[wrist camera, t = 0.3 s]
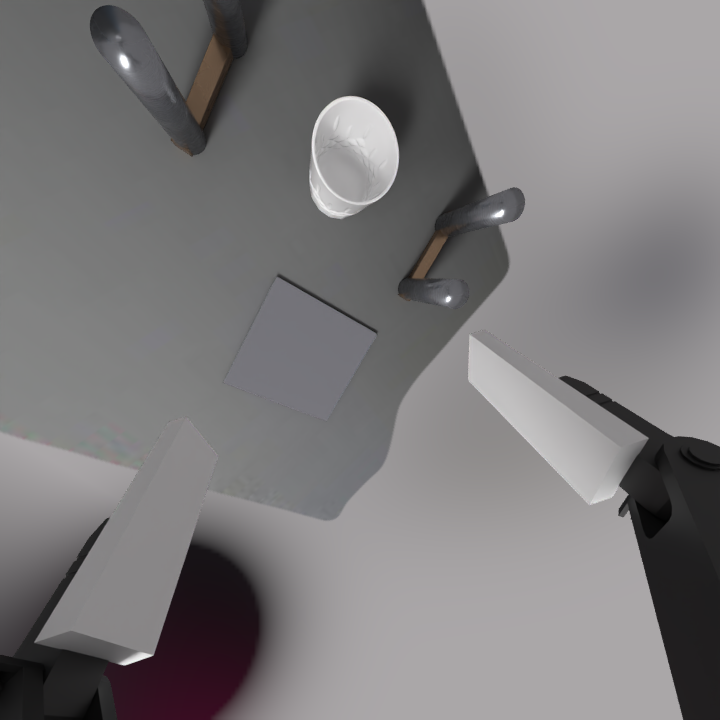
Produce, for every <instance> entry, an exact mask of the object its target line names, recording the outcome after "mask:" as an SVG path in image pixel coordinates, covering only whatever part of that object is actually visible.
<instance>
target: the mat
mask: <svg viewBox="0 0 720 720" xmlns="http://www.w3.org/2000/svg"><path fill="white" fill-rule="evenodd" d="M376 336H377V333H375V332H373V331H371V330H370V329H368V328H366V327H364V326H363V325H361V324H359V323H357V322H356V321H354V320H352V319H350V318H349V317H347V316H345V315H343V314H342V313H340V312H338V311H336V310H335V309H333V308H331V307H329V306H328V305H326V304H324V303H322V302H321V301H319V300H317V299H315V298H314V297H312V296H310V295H308V294H307V293H305V292H303V291H301V290H300V289H298V288H296V287H295V286H293V285H291V284H289V283H288V282H286V281H284V280H282V279H281V278H279V277H277V276H276V278H275V280H274V282H273V284H272V286H271V288H270V290H269V292H268V294H267V296H266V298H265V300H264V302H263V304H262V306H261V308H260V310H259V312H258V314H257V316H256V318H255V320H254V322H253V324H252V326H251V328H250V330H249V332H248V334H247V336H246V338H245V340H244V342H243V344H242V346H241V348H240V350H239V352H238V354H237V356H236V358H235V360H234V362H233V364H232V366H231V368H230V370H229V372H228V374H227V376H226V378H225V380H224V382H223V383H225V384H228V385H231V386H233V387H236V388H238V389H241V390H244V391H246V392H249V393H252V394H254V395H257V396H260V397H262V398H265V399H268V400H270V401H273V402H276V403H278V404H281V405H284V406H286V407H289V408H292V409H294V410H297V411H300V412H302V413H305V414H308V415H310V416H313V417H316V418H318V419H321V420H324V421H327V420H328V418H329V416H330V414H331V413H332V411H333V409H334V408H335V406H336V404H337V403H338V401H339V399H340V397H341V396H342V394H343V392H344V391H345V389H346V387H347V385H348V384H349V382H350V380H351V379H352V377H353V375H354V373H355V372H356V370H357V368H358V367H359V365H360V363H361V362H362V360H363V358H364V356H365V355H366V353H367V351H368V350H369V348H370V346H371V344H372V343H373V341H374V339H375V338H376Z"/></svg>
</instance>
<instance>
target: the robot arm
mask: <svg viewBox="0 0 720 720" xmlns="http://www.w3.org/2000/svg"><path fill="white" fill-rule="evenodd" d="M468 369H469V370H468V381H469V382H470V383H471V384H472V385H473V386H474V387H475V388H476V389H477V390H478V391H479V392H480V393H481V394H482V395H483V396H484V397H485V398H486V399H487V400H488V401H489V402H490V403H491V404H492V405H493V406H494V407H495V408H496V409H497V410H498V411H499V413H500V414H501V415H503V416H504V418H505V419H506V420H507V421H508V422H509V423H510V424H512V426H513V427H514V428H515V429H516V430H517V431H518V432H519V433H520V434H521V435H522V436H523V437H524V438H525V439H526V440H527V441H528V442H529V443H530V444H531V445H532V446H533V447H534V449H535V450H536V451H538V453H539V454H540V455H541V456H542V457H543V458H544V459H545V460H546V461H547V462H548V463H549V464H550V465H551V466H552V467H553V468H554V469H555V470H556V471H557V472H558V473H559V474H560V475H561V476H562V477H563V478H564V479H565V480H566V481H567V482H568V484H570V486H571V487H572V488H573V489H574V490H575V491H576V492H577V493H578V494H579V495H580V496H581V497H582V498H583V499H584V500H585V501H586V502H587V503H588V504H589V505H591V504H594V503H597V502H600V501H603V500H605V499H609V498H611V497H613V495H614V493H615V492H616V490H617V489H618V487H619V486H620V487H621V488H622V489H623V490H625V491H626V492H627V493H628V494H629V495H628V496H627V498H626V499H625V501H624V502H623V504H622V505H621V507H620V508H619V516H621V517H624V516H625V514H626V513H627V512H628V510H629V511H630V515H631V520H632V523H633V526H634V530H635V534H636V538H637V542H638V546H639V550H640V554H641V558H642V562H643V565H644V569H645V573H646V577H647V581H648V584H649V589H650V593H651V596H652V600H653V604H654V608H655V612H656V616H657V620H658V623H659V627H660V631H661V635H662V639H663V643H664V647H665V650H666V654H667V658H668V662H669V666H670V670H671V674H672V677H673V682H674V685H675V689H676V693H677V697H678V701H679V704H680V709H681V713H682V717H683V720H720V447H719V446H717V445H714V444H712V443H710V442H708V441H704V440H700V439H696V438H692V437H679V436H678V437H673V436H671V435H669V434H667V433H665V432H664V431H662V430H660V429H659V428H657V427H656V426H654V425H652V424H651V423H649V422H648V421H646V420H644V419H643V418H641V417H639V416H638V415H636V414H635V413H633V412H631V411H630V410H628V409H626V408H625V407H623V406H621V405H620V404H618V403H617V402H613V401H612V399H610V398H609V397H607V396H605V395H604V394H600V393H599V391H597V390H596V389H594V388H592V387H591V386H589V385H588V384H586V383H584V382H582V381H579V380H576V379H574V378H571V377H568V376H563V377H560V378H557V377H556V376H554V375H553V374H551V373H550V372H548V371H547V370H545V369H544V368H542V367H541V366H539V365H538V364H536V363H535V362H533V361H532V360H530V359H528V358H527V357H525V356H524V355H522V354H521V353H519V352H518V351H516V350H515V349H513V348H512V347H510V346H509V345H507V344H506V343H504V342H503V341H501V340H500V339H498V338H497V337H495V336H494V335H492V334H491V333H489V332H488V331H486V330H482V331H478V332H475V333H471V334H470V335H469V367H468ZM217 459H218V455H217V453H216V452H215V451H214V450H213V449H212V447H211V446H210V445H209V444H208V442H207V441H206V440H205V439H204V437H203V436H202V435H201V434H200V433H199V431H198V430H197V429H196V428H195V426H194V425H193V424H192V423H191V422H190V420H189V419H188V418H187V417H183V418H180V419H176V420H173V421H169V422H168V424H167V425H166V427H165V429H164V430H163V432H162V433H161V435H160V437H159V438H158V440H157V442H156V443H155V445H154V447H153V448H152V450H151V451H150V453H149V455H148V456H147V458H146V460H145V461H144V463H143V465H142V466H141V468H140V470H139V471H138V473H137V474H136V476H135V478H134V480H133V481H132V483H131V484H130V486H129V488H128V489H127V491H126V493H125V494H124V496H123V497H122V499H121V501H120V503H119V504H118V506H117V507H116V509H115V511H114V512H113V514H112V516H111V517H110V518H107V519H106V520H105V521H104V522H103V523H102V524H101V525H100V526H99V527H98V529H97V530H96V531H95V532H94V533H93V534H92V535H91V536H90V537H89V539H88V540H87V542H86V544H85V545H84V547H83V549H82V550H81V551H80V553H79V555H78V556H77V561H75V562H74V563H73V564H72V566H71V567H70V569H69V571H68V572H67V573H66V578H65V579H63V580H62V581H61V583H60V584H59V586H58V588H57V589H56V591H55V592H54V594H53V595H52V597H51V599H50V600H49V602H48V603H47V605H46V606H45V608H44V610H43V611H42V613H41V614H40V616H39V618H38V619H37V621H36V622H35V624H34V625H33V627H32V628H31V630H30V632H29V633H28V635H27V636H26V638H25V640H24V641H23V643H22V644H21V646H20V648H19V649H18V650H17V652H16V653H15V655H14V656H13V657H8V656H4V655H0V720H117V716H116V711H115V705H114V700H113V695H112V689H111V684H110V682H109V680H108V678H107V677H106V676H103V673H104V671H105V669H106V666H107V664H108V662H113V663H117V664H121V665H127V664H130V663H133V662H136V661H139V660H141V659H144V658H147V657H150V656H153V655H154V652H155V649H156V646H157V643H158V640H159V636H160V633H161V630H162V627H163V624H164V621H165V618H166V615H167V612H168V609H169V606H170V603H171V600H172V596H173V594H174V590H175V587H176V584H177V581H178V578H179V575H180V572H181V569H182V566H183V562H184V560H185V557H186V553H187V550H188V548H189V544H190V541H191V538H192V535H193V532H194V529H195V526H196V523H197V520H198V517H199V514H200V511H201V507H202V504H203V502H204V498H205V495H206V492H207V489H208V486H209V483H210V480H211V477H212V474H213V471H214V468H215V465H216V462H217Z"/></svg>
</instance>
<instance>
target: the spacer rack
mask: <svg viewBox="0 0 720 720" xmlns="http://www.w3.org/2000/svg"><path fill="white" fill-rule="evenodd" d="M203 1H204V5H205V8H206V11H207V14H208V18H209V21H210V24H211V28H212V31H213V37H212V39H211V41H210V44H209V46H208V49H207V51H206V54H205V56H204V59H203V61H202V64H201V66H200V69H199V71H198V74H197V76H196V79H195V81H194V84H193V86H192V88H191V91H190V93H189V96H188V98H187V101H185V100H184V98H183V96H182V94H181V93H180V91H179V89H178V88H177V86H176V84H175V82H174V81H173V79H172V77H171V76H170V74H169V72H168V70H167V69H166V67H165V65H164V64H163V62H162V60H161V58H160V57H159V55H158V53H157V51H156V50H155V48H154V46H153V45H152V43H151V41H150V39H149V38H148V36H147V34H146V33H145V31H144V29H143V28H142V26H141V25H140V23H139V22H138V21H137V20H136V19H135V18H134V17H133V16H132V15H131V14H129V13H128V12H127V11H125V10H123V9H121V8H119V7H116V6H111V5H106V6H102V7H99V8H98V9H96V10H95V11H94V13H93V14H92V17H91V20H90V31H91V35H92V39H93V41H94V43H95V45H96V47H97V49H98V51H99V52H100V53H101V55H102V56H103V57H104V58H105V59H106V61H107V62H108V63H109V64H110V65H111V67H112V68H113V69H114V70H115V71H116V73H117V74H118V75H119V76H120V77H121V78H122V80H123V81H124V82H125V83H126V84H127V86H128V87H129V88H130V89H131V90H132V92H133V93H134V94H135V95H136V96H137V98H138V99H139V100H140V101H141V102H142V104H143V105H144V106H145V107H146V108H147V109H148V111H149V112H150V113H151V114H152V115H153V117H154V118H155V119H156V120H157V121H158V123H159V124H160V125H161V126H162V127H163V129H164V130H165V131H166V132H167V133H168V134H169V136H170V137H171V141H172V142H173V143H174V144H175V146H177V147H178V148H180V149H181V150H183V151H184V152H186V153H187V154H189V155H190V156H193V155H196V154H199V153H201V152H202V151H203V150H204V148H205V146H206V138H205V135H204V132H203V129H204V127H205V125H206V122H207V120H208V118H209V115H210V113H211V110H212V108H213V106H214V103H215V101H216V99H217V96H218V94H219V91H220V89H221V87H222V84H223V82H224V80H225V77H226V75H227V72H228V70H229V68H230V65H231V63H232V60H233V58H240V57H242V56H243V55H244V54H245V52H246V50H247V37H246V31H245V30H246V29H245V23H244V18H243V13H242V7H241V2H240V0H203ZM524 205H525V198H524V195H523V193H522V191H521V190H520V189H518V188H510V189H507V190H505V191H502V192H500V193H497V194H494V195H492V196H489V197H487V198H484V199H481V200H479V201H476V202H474V203H471V204H469V205H466V206H463V207H461V208H458V209H456V210H453V211H449V212H447V213H445V214H443V215H441V216H439V217H438V218H437V220H436V223H435V233H434V234H433V236H432V238H431V239H430V241H429V243H428V245H427V246H426V248H425V250H424V251H423V253H422V255H421V257H420V258H419V260H418V262H417V263H416V265H415V267H414V269H413V270H412V272H411V274H410V275H409V277H408V278H406V279H403V280H402V281H401V282H400V284H399V287H398V292H399V294H398V295H399V296H400V297H402V298H403V299H405V300H407V301H410V300H413V301H418V302H423V303H428V304H433V305H438V306H443V307H448V308H453V309H457V308H460V307H462V306H463V305H464V304H465V303H466V301H467V300H468V297H469V287H468V285H467V283H466V282H465V281H463V280H460V279H425V278H424V276H425V275H426V273H427V271H428V270H429V268H430V266H431V265H432V263H433V261H434V260H435V258H436V256H437V255H438V253H439V251H440V250H441V248H442V246H443V244H444V243H445V241H446V239H447V238H448V237H449V236H453V235H458V234H462V233H466V232H470V231H475V230H479V229H483V228H487V227H491V226H496V225H500V224H504V223H508V222H512V221H515V220H516V219H518V218H519V217H520V215H521V214H522V212H523V209H524Z"/></svg>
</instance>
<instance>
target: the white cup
mask: <svg viewBox="0 0 720 720" xmlns="http://www.w3.org/2000/svg"><path fill="white" fill-rule="evenodd" d="M398 164H399V148H398V142H397V138H396V135H395V132H394V129H393V127H392V125H391V123H390V121H389V120H388V118H387V117H386V115H385V114H384V113H383V112H382V111H381V110H380V109H379V108H378V107H377V106H376V105H375V104H373V103H372V102H370V101H368V100H366V99H364V98H361V97H356V96H346V97H341V98H338V99H336V100H334V101H333V102H331V103H330V104H329V105H327V106H326V107H325V108H324V110H323V111H322V112H321V114H320V115H319V117H318V119H317V121H316V124H315V127H314V131H313V136H312V146H311V156H310V170H309V177H310V180H309V185H310V191H311V196H312V199H313V200H314V202H315V204H316V205H317V207H318V209H319V210H320V211H322V212H323V213H325V214H326V215H327V216H329V217H331V218H338V219H343V218H346V217H348V216H351V215H354V214H356V213H357V212H359V211H361V210H363V209H364V208H366V207H368V206H369V205H371V204H372V203H374V202H375V201H377V200H378V199H380V198H381V197H382V196H384V195H385V194H386V192H387V191H388V190H389V189H390V187H391V185H392V184H393V182H394V179H395V177H396V174H397V170H398Z"/></svg>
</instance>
